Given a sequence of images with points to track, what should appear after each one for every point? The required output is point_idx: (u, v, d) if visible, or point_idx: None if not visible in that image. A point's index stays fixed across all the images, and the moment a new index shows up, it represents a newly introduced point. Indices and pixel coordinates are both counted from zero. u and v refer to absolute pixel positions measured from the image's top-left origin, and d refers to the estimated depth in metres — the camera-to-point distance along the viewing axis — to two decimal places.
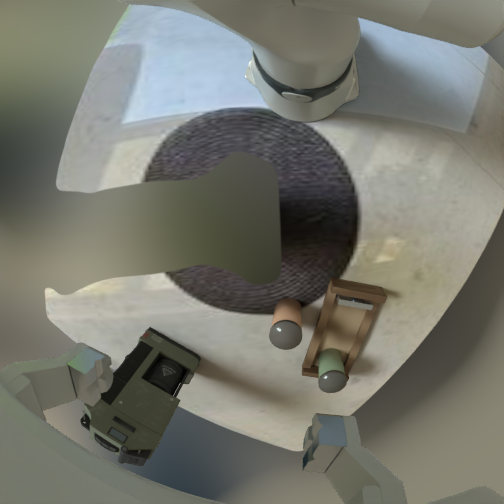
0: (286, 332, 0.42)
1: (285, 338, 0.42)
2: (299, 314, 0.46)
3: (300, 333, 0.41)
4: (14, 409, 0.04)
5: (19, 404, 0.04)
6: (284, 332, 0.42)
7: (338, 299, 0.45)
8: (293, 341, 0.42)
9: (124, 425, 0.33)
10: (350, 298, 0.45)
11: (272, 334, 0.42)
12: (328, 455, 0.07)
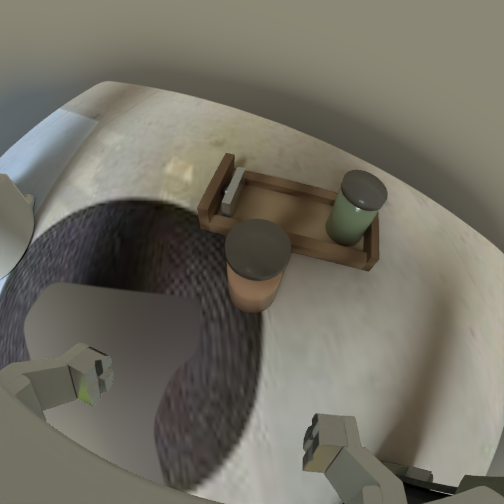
0: (247, 242, 0.22)
1: (262, 245, 0.22)
2: None
3: (251, 220, 0.23)
4: (14, 409, 0.04)
5: (19, 404, 0.04)
6: (247, 246, 0.21)
7: (224, 206, 0.31)
8: (270, 232, 0.22)
9: None
10: None
11: (252, 268, 0.20)
12: (328, 455, 0.07)
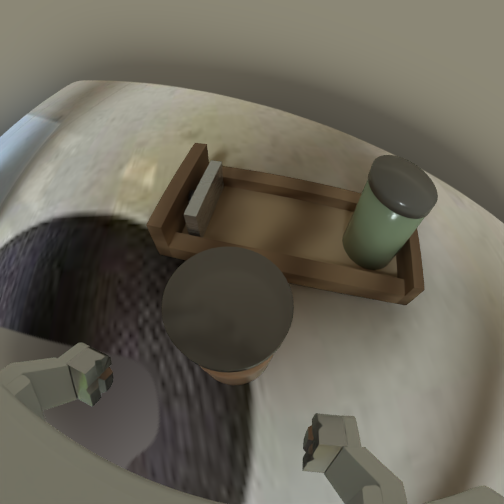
0: (204, 298, 0.11)
1: (235, 303, 0.11)
2: None
3: (213, 251, 0.12)
4: (14, 409, 0.04)
5: (19, 404, 0.04)
6: (204, 306, 0.10)
7: (189, 220, 0.20)
8: (250, 274, 0.11)
9: None
10: None
11: (213, 355, 0.09)
12: (328, 455, 0.07)
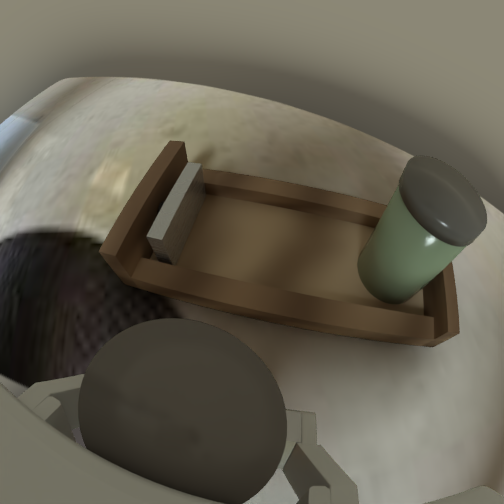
0: (136, 409, 0.05)
1: (185, 424, 0.05)
2: None
3: (153, 326, 0.06)
4: (14, 409, 0.04)
5: (19, 404, 0.04)
6: (137, 423, 0.05)
7: (155, 243, 0.15)
8: (213, 374, 0.06)
9: None
10: None
11: None
12: None
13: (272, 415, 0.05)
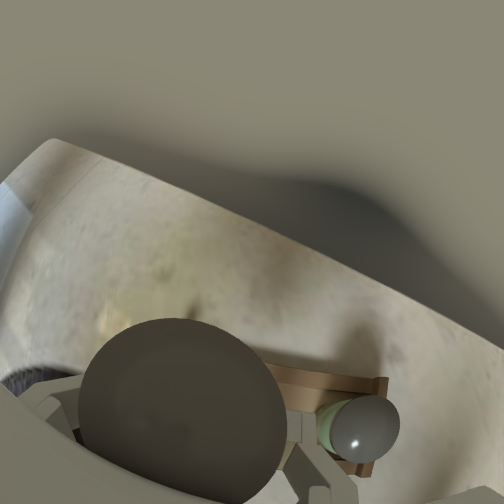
0: (136, 409, 0.05)
1: (185, 424, 0.05)
2: None
3: (153, 326, 0.06)
4: (14, 409, 0.04)
5: (19, 404, 0.04)
6: (137, 423, 0.05)
7: None
8: (213, 374, 0.06)
9: None
10: None
11: None
12: None
13: (272, 415, 0.05)
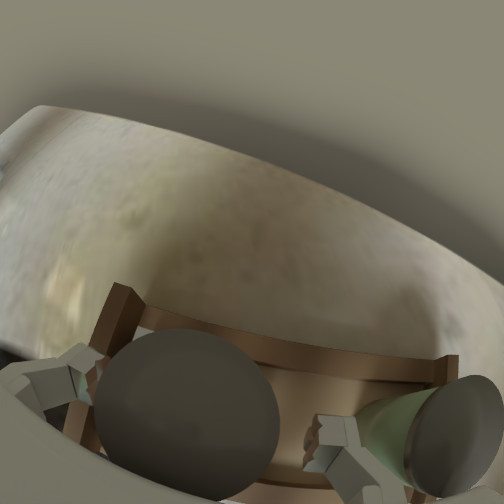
0: (147, 409, 0.06)
1: (191, 422, 0.06)
2: None
3: (161, 336, 0.07)
4: (14, 409, 0.04)
5: (19, 404, 0.04)
6: (148, 421, 0.06)
7: None
8: (215, 377, 0.07)
9: None
10: None
11: (164, 485, 0.05)
12: (328, 455, 0.07)
13: (267, 413, 0.06)
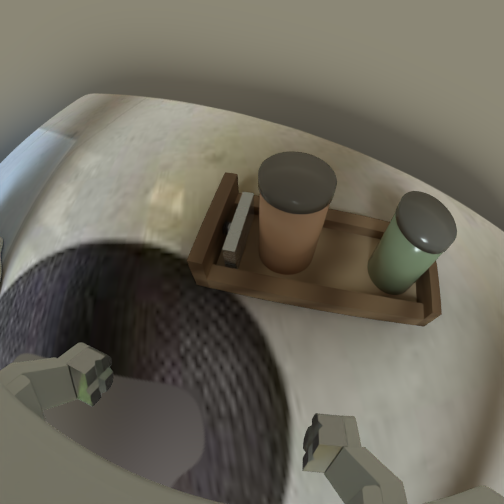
0: (284, 172, 0.17)
1: (303, 175, 0.17)
2: None
3: (285, 153, 0.19)
4: (14, 409, 0.04)
5: (19, 404, 0.04)
6: (285, 176, 0.17)
7: (227, 254, 0.22)
8: (309, 163, 0.18)
9: None
10: None
11: (295, 196, 0.16)
12: (328, 455, 0.07)
13: (330, 173, 0.17)
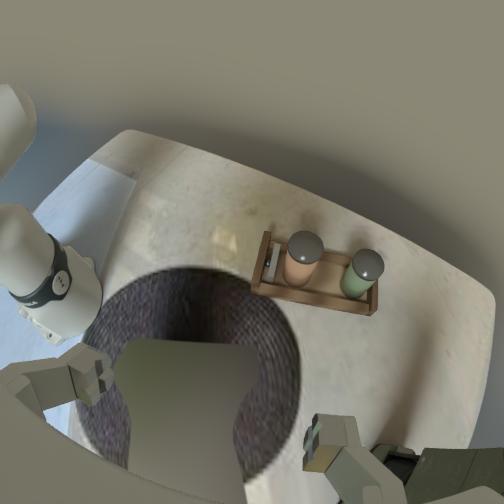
0: (300, 244, 0.39)
1: (308, 245, 0.39)
2: None
3: (300, 232, 0.41)
4: (14, 409, 0.04)
5: (19, 404, 0.04)
6: (300, 246, 0.39)
7: (269, 278, 0.43)
8: (311, 238, 0.40)
9: None
10: None
11: (305, 257, 0.38)
12: (328, 455, 0.07)
13: (321, 244, 0.39)
